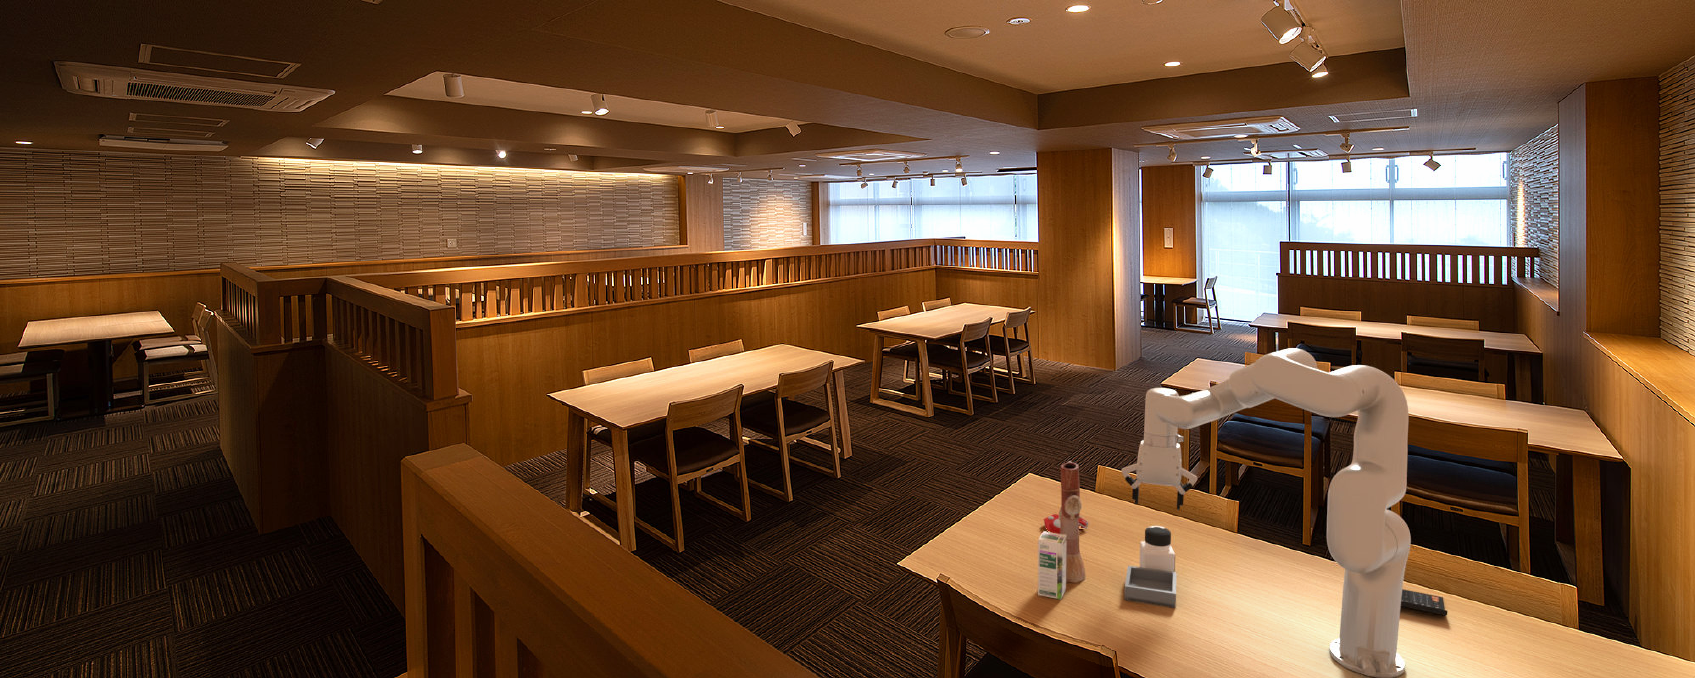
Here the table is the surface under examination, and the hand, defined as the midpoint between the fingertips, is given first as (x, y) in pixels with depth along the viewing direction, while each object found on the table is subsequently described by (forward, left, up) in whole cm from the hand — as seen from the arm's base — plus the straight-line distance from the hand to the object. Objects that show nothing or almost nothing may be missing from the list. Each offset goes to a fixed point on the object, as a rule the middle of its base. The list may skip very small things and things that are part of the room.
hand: (1157, 504), depth 190 cm
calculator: (+3, -55, -19) cm, 58 cm away
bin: (-11, +1, -18) cm, 21 cm away
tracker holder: (+19, +25, -19) cm, 36 cm away
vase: (-9, +20, -18) cm, 28 cm away
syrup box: (-18, +23, -18) cm, 34 cm away
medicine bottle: (0, 0, -18) cm, 18 cm away
